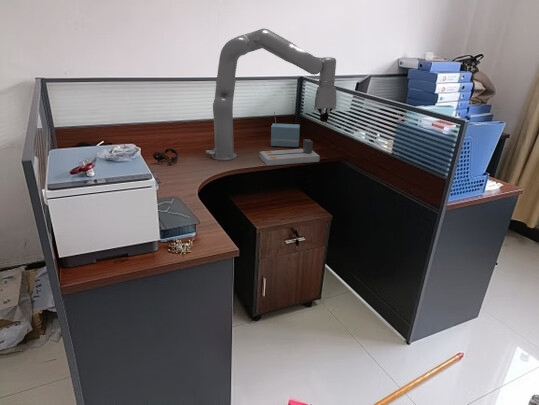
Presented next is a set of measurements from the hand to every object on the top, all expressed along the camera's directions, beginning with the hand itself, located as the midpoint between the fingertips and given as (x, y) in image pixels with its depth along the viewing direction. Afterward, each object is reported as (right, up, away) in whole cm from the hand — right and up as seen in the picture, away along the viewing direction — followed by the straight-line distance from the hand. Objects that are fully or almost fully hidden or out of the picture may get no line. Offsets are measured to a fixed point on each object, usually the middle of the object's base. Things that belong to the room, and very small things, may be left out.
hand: (323, 121), depth 199 cm
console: (-18, -19, +3) cm, 26 cm away
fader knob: (-8, -15, +4) cm, 18 cm away
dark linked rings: (-79, -22, -5) cm, 83 cm away
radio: (-19, -9, +27) cm, 34 cm away
